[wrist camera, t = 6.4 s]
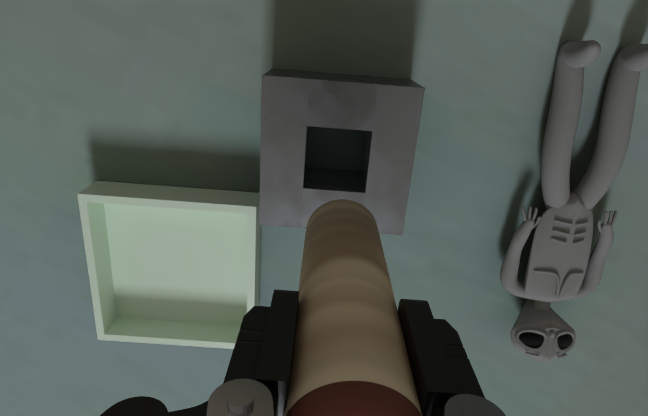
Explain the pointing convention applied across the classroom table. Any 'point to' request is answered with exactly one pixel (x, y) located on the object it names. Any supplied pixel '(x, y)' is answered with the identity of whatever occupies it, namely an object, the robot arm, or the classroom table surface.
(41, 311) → the classroom table surface
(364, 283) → the pin
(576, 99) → the alien figure
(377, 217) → the socket block
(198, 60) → the classroom table surface
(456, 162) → the classroom table surface
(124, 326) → the tray
